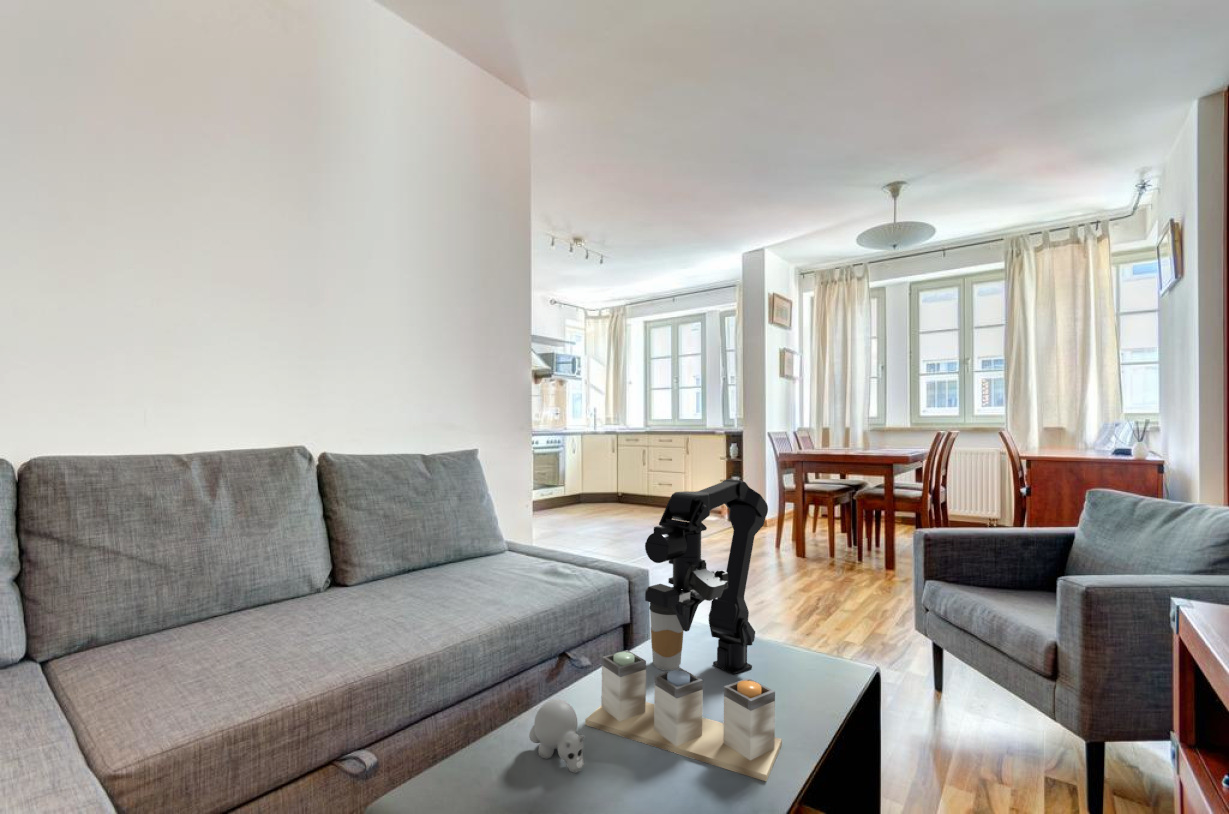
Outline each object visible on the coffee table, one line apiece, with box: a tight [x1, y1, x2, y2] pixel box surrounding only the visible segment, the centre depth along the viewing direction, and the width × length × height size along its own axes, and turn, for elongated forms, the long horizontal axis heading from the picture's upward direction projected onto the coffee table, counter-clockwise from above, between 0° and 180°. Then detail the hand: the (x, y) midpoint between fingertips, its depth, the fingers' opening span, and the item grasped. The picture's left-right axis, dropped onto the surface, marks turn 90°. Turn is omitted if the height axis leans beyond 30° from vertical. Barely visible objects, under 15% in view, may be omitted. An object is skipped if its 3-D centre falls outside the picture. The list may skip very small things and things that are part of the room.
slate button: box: [667, 670, 690, 687], centre depth 100 cm, size 4×4×2 cm
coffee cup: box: [649, 602, 684, 671], centre depth 130 cm, size 8×8×15 cm
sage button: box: [613, 651, 635, 666], centre depth 108 cm, size 4×4×2 cm
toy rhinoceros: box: [528, 698, 586, 773], centre depth 94 cm, size 7×12×8 cm, turn 36°
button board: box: [584, 649, 783, 782], centre depth 102 cm, size 11×33×11 cm, turn 62°
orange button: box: [737, 680, 762, 699], centre depth 97 cm, size 4×4×2 cm
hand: (686, 630), depth 116 cm, fingers closed
